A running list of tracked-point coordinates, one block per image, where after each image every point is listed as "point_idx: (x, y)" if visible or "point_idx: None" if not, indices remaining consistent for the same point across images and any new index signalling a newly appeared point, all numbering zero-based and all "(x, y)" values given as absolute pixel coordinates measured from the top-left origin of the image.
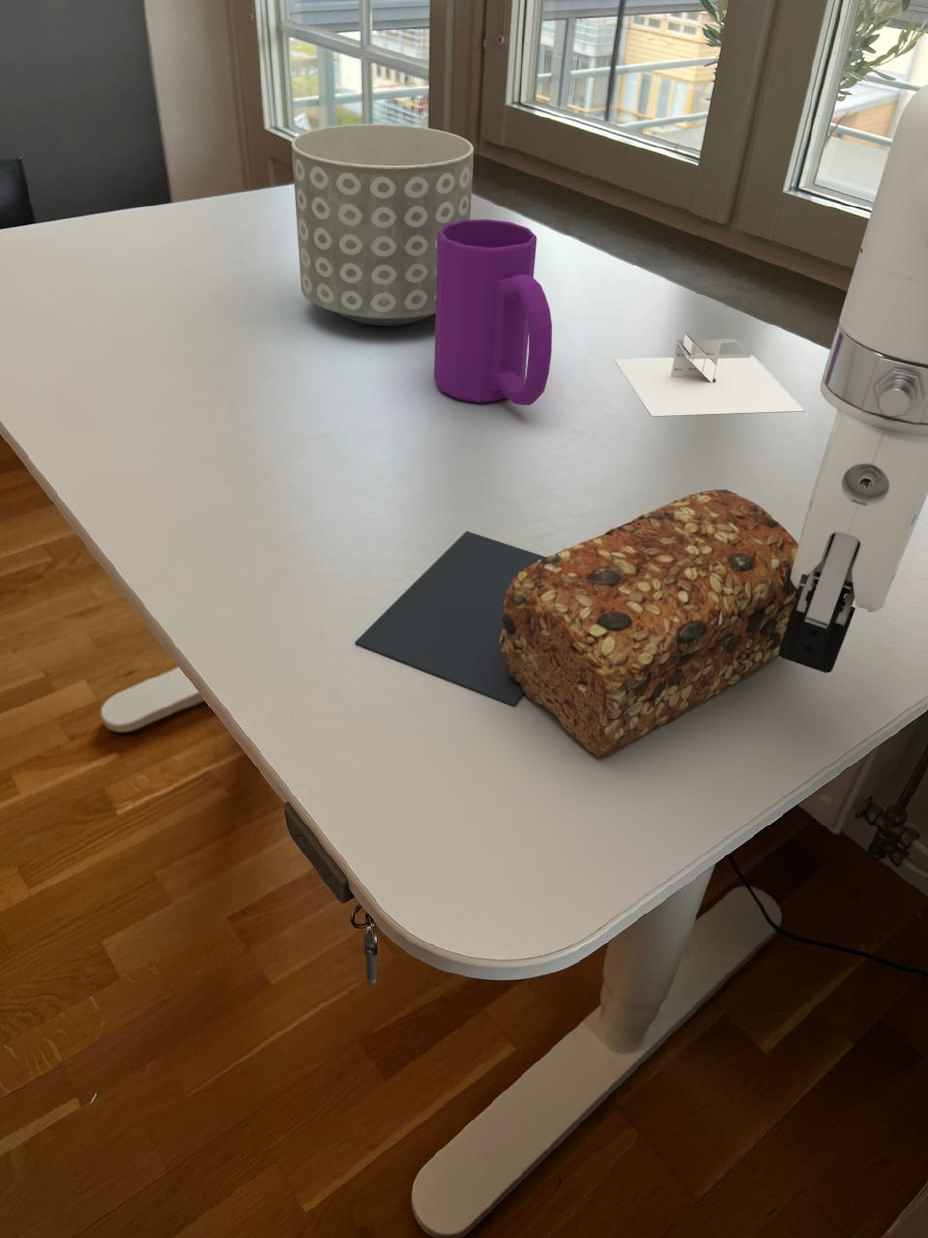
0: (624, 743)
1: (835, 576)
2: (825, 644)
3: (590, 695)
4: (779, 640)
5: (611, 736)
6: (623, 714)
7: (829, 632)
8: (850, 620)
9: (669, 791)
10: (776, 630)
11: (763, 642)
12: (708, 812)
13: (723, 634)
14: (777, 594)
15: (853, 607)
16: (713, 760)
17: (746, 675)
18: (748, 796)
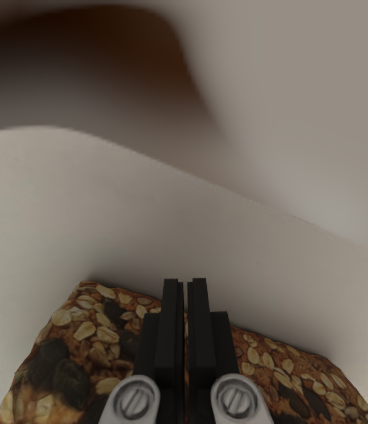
0: (315, 358)
1: None
2: (233, 342)
3: None
4: (107, 306)
5: (351, 387)
6: (357, 409)
7: (237, 367)
8: (209, 367)
9: (342, 307)
10: (112, 326)
11: (137, 327)
12: (356, 274)
13: None
14: None
15: (154, 370)
16: (286, 288)
17: (154, 299)
18: (321, 250)
